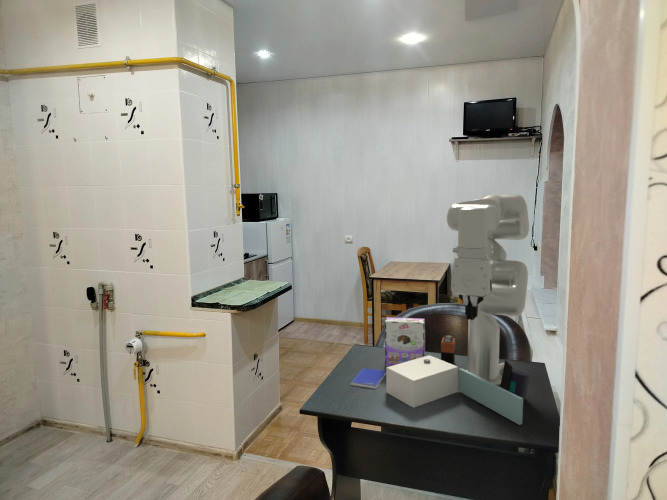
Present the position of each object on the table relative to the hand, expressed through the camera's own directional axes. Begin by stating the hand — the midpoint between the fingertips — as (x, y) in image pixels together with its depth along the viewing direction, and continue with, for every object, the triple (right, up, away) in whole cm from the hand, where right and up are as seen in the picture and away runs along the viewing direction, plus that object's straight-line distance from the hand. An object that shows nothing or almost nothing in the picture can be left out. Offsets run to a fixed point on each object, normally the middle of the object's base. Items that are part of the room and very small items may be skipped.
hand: (471, 318), depth 124 cm
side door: (+6, -25, +3) cm, 26 cm away
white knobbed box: (-11, -25, +13) cm, 30 cm away
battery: (+2, -22, +35) cm, 41 cm away
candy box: (-13, -22, +36) cm, 44 cm away
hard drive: (-26, -24, +24) cm, 43 cm away
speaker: (+16, -25, +9) cm, 31 cm away
